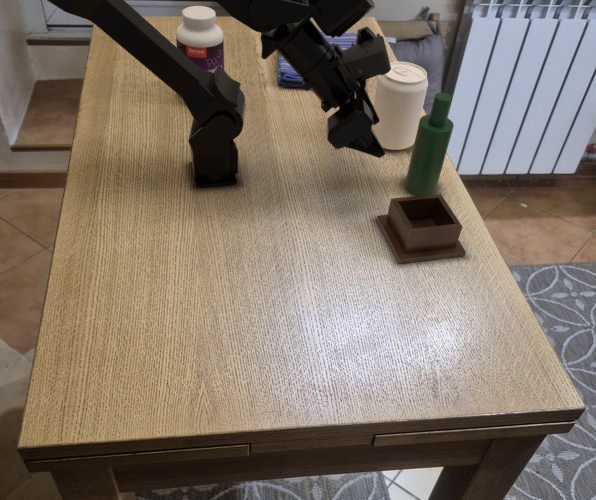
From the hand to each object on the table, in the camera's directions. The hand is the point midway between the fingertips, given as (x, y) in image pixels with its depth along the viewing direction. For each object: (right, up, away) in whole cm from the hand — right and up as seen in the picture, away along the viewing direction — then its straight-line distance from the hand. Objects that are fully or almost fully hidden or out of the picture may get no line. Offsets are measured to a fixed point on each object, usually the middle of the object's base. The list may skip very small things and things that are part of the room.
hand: (379, 138), depth 92 cm
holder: (+5, -15, -2) cm, 16 cm away
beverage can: (+4, +5, +15) cm, 16 cm away
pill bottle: (-30, +15, +21) cm, 39 cm away
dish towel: (-8, +26, +33) cm, 43 cm away
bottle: (+7, -6, +6) cm, 11 cm away
